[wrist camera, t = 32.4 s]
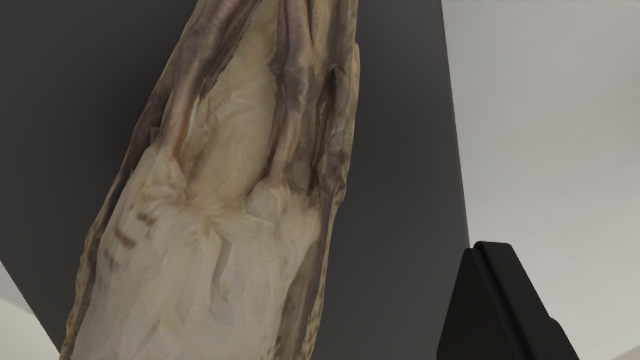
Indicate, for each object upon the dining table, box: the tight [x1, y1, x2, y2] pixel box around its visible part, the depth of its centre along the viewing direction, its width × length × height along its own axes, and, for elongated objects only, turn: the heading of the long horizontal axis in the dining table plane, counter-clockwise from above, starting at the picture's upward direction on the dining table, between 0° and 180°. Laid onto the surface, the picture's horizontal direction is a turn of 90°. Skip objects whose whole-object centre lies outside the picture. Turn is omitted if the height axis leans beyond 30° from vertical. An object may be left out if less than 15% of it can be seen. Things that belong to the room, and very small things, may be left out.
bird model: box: [59, 0, 360, 360], centre depth 12 cm, size 29×6×5 cm, turn 165°
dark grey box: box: [0, 0, 470, 360], centre depth 18 cm, size 15×13×10 cm
